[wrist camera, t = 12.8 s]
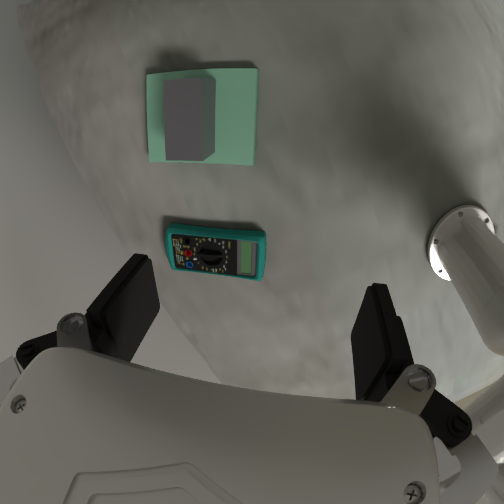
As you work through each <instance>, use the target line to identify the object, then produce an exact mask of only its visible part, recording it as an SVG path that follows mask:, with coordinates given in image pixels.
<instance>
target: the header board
mask: <svg viewBox="0 0 504 504" xmlns="http://www.w3.org/2000/svg"><path fill="white" fill-rule="evenodd" d="M187 78H210V79H216V103H215V153H213V154H212V155H211V156H209V157H208V158H206V159H205V160H204V161H169V160H166V156H165V132H164V80H174V79H187ZM258 82H259V69H255V68H221V69H198V70H184V71H173V72H164V73H156V74H148V75H147V130H148V149H149V162H192V163H217V164H235V165H249V166H253V165H254V164H255V150H256V127H257V104H258Z"/></svg>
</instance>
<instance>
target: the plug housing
mask: <svg viewBox="0 0 504 504" xmlns="http://www.w3.org/2000/svg"><path fill="white" fill-rule="evenodd" d="M215 103H216V79H210V78H187V79H174V80H164V132H165V156H166V160H169V161H204V160H205V159H206V158H208V157H209V156H211V155H212V154H213V153H215Z"/></svg>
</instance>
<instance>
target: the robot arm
mask: <svg viewBox="0 0 504 504" xmlns="http://www.w3.org/2000/svg"><path fill="white" fill-rule="evenodd" d="M428 260H429V262H430V265H431V267H432V268H433V270H434V272H435V273H436V274H437V275H438V276H440V277H441V278H443V279H446V280H451V281H452V283H453V285H454V287H455V288H456V290H457V292H458V294H459V295H460V297H461V299H462V301H463V303H464V304H465V306H466V308H467V310H468V312H469V314H470V316H471V318H472V320H473V322H474V324H475V326H476V328H477V330H478V332H479V334H480V336H481V338H482V340H483V342H484V343H485V345H486V346H487V348H488V349H490V350H491V351H492V352H494V353H495V354H498V355H501V356H504V244H503V243H502V242H501V241H500V239H499V238H498V237H497V236H496V235H495V234H494V226H493V222H492V220H491V218H490V217H489V215H488V214H487V213H486V212H485V211H484V210H483V209H481V208H479V207H478V206H474V205H462V206H458V207H456V208H454V209H452V210H451V211H449V212H448V213H446V214H445V215H444V216H443V217H442V218H441V219H440V220H439V222H438V223H437V224H436V226H435V228H434V229H433V231H432V233H431V236H430V239H429V243H428ZM159 309H160V303H159V298H158V293H157V288H156V283H155V277H154V272H153V266H152V261H151V259H149V258H148V256H147V255H144V254H137V253H136V254H134V255H133V256H132V257H131V258H130V259H129V260H128V261H127V262H126V263H125V265H124V266H123V267H122V268H121V269H120V271H118V273H117V274H116V275H115V276H114V277H113V278H112V280H111V281H110V282H109V283H108V284H107V286H106V287H105V288H104V289H103V290H102V292H101V293H100V294H99V295H98V297H97V298H96V299H95V300H94V301H93V303H92V304H91V305H90V306H89V308H88V309H87V310H86V311H87V313H86V314H85V316H84V315H83V314H81V313H70V314H67V315H66V316H64V317H62V318H61V320H60V321H59V322H58V324H57V331H55V332H52V333H49V334H46V335H43V336H40V337H37V338H34V339H31V340H28V341H26V342H24V343H23V344H22V345H20V347H19V348H18V350H17V352H16V357H13V356H11V357H9V358H7V359H6V360H4V361H3V362H1V363H0V504H475V503H476V502H477V501H478V500H479V499H480V498H481V496H482V495H483V496H484V497H485V499H486V500H487V502H488V503H489V504H504V375H503V376H502V377H501V378H499V379H498V380H497V381H496V382H495V383H494V384H493V385H492V386H491V387H489V388H488V389H487V390H486V391H485V392H484V393H482V394H481V395H480V396H479V397H478V398H476V399H475V400H474V401H473V402H472V403H471V404H469V405H468V406H467V407H466V408H465V409H464V410H461V409H460V408H459V407H458V406H456V405H455V404H454V403H453V402H451V401H450V400H449V399H447V398H446V397H445V396H443V395H442V394H441V393H439V392H438V391H437V390H435V386H436V379H435V376H434V374H433V373H432V371H431V370H430V369H428V368H427V367H425V366H423V365H420V364H414V361H413V358H412V354H411V350H410V346H409V343H408V339H407V336H406V332H405V329H404V326H403V322H402V319H401V317H399V316H397V315H396V312H395V309H394V306H393V303H392V299H391V296H390V293H389V290H388V287H387V285H386V284H379V283H373V284H372V286H368V287H367V290H366V293H365V296H364V299H363V302H362V304H361V307H360V310H359V313H358V316H357V319H356V321H355V324H354V327H353V329H352V333H351V344H352V354H353V364H354V376H355V390H356V400H351V399H335V398H322V397H310V396H300V395H290V394H281V393H273V392H266V391H259V390H252V389H246V388H240V387H234V386H228V385H223V384H217V383H212V382H207V381H202V380H198V379H193V378H188V377H184V376H180V375H175V374H172V373H168V372H164V371H160V370H156V369H152V368H149V367H145V366H141V365H138V364H134V363H131V362H130V361H131V360H132V358H133V356H134V354H135V352H136V351H137V349H138V347H139V345H140V343H141V341H142V340H143V338H144V336H145V334H146V333H147V331H148V329H149V328H150V326H151V324H152V322H153V320H154V319H155V317H156V315H157V314H158V312H159ZM439 477H440V482H439ZM407 485H408V486H407Z"/></svg>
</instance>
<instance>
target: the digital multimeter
mask: <svg viewBox="0 0 504 504" xmlns="http://www.w3.org/2000/svg"><path fill="white" fill-rule="evenodd" d="M183 234H184V235H183ZM194 235H195V236H194ZM203 236H205V237H203ZM213 237H215V238H213ZM223 238H225V239H223ZM233 239H234V240H233ZM165 249H166V254H167V257H168V261H169V263H170V266H171V268H172V269H173V270H179V271H191V272H200V273H209V274H216V275H224V276H232V277H238V278H243V279H250V280H256V281H261V280H262V277H263V273H264V267H265V259H266V233H265V232H264V231H253V230H233V229H221V228H209V227H201V226H192V225H185V224H178V223H172V224H171V225H170V226H169V227H168V228H167V229H166V236H165Z"/></svg>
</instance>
